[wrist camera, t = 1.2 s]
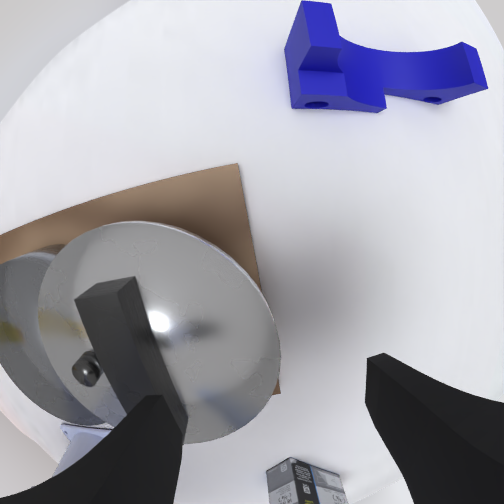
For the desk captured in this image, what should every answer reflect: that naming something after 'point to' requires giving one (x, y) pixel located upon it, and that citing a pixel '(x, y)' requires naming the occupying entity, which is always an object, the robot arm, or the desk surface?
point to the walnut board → (155, 216)
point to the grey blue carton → (303, 484)
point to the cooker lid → (159, 328)
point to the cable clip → (369, 68)
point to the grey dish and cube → (33, 338)
